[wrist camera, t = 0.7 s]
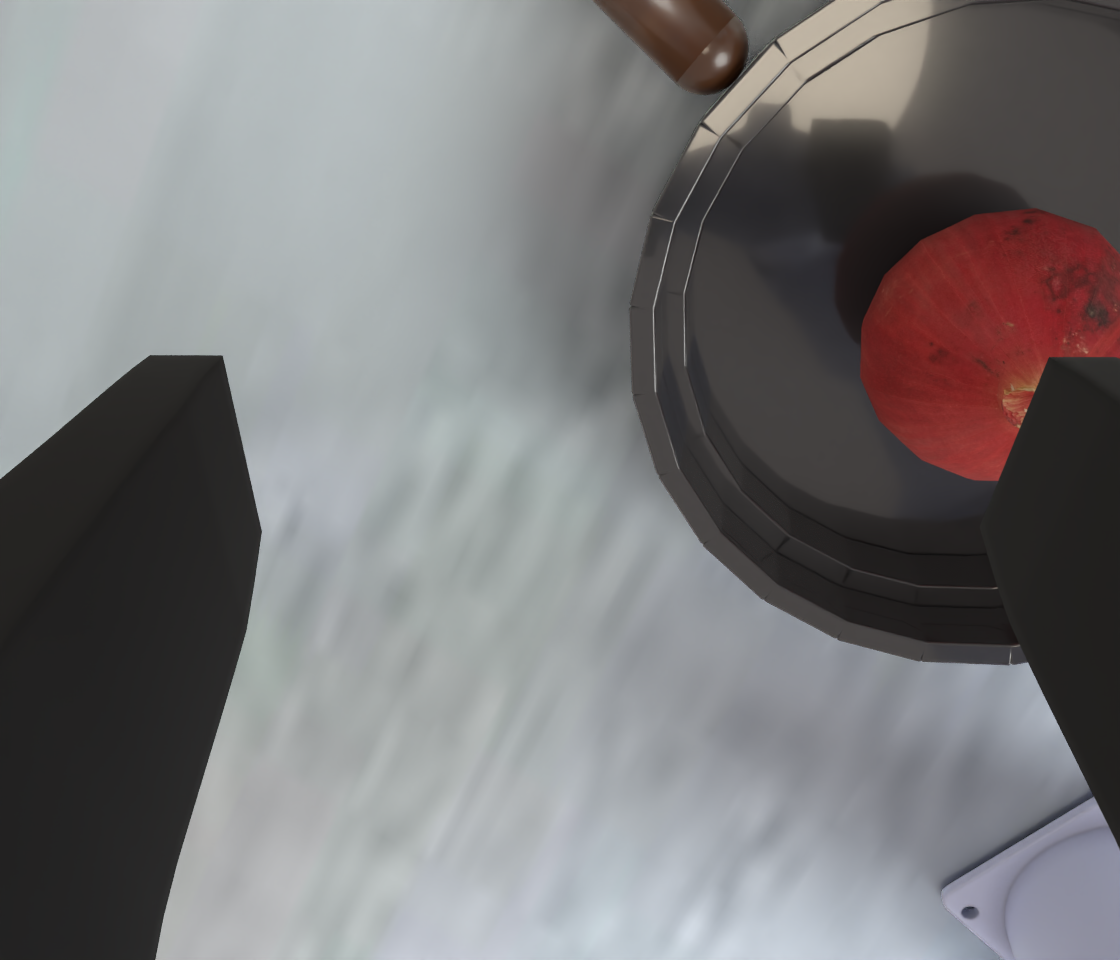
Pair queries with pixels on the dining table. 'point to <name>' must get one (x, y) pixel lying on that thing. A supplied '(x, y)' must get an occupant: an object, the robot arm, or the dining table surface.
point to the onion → (984, 331)
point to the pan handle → (685, 39)
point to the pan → (854, 295)
